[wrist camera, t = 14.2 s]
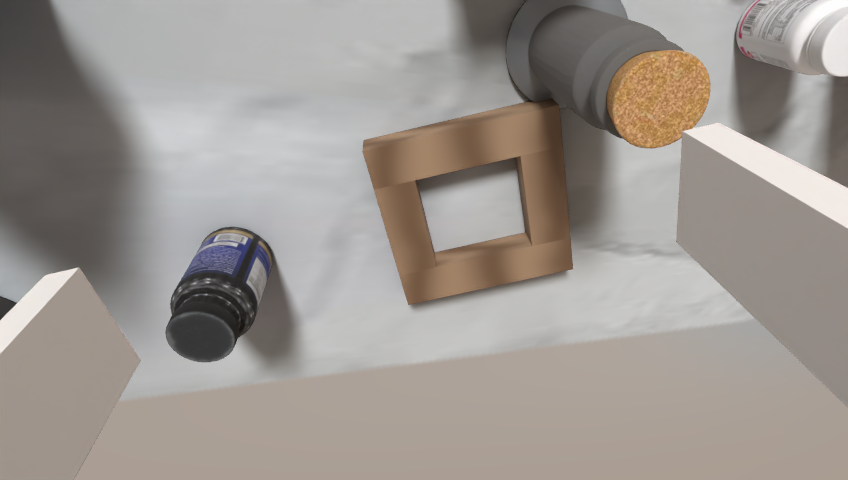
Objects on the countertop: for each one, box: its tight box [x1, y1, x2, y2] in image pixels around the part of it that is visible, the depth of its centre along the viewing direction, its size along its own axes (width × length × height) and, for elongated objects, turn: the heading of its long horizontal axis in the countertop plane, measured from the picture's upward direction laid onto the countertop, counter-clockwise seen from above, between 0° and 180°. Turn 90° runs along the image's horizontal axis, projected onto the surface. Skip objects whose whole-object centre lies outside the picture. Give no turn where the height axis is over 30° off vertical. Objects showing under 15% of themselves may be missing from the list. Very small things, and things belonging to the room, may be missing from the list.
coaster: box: [506, 0, 628, 108], centre depth 38 cm, size 9×9×1 cm
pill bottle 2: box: [736, 0, 848, 77], centre depth 35 cm, size 5×5×8 cm
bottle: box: [528, 5, 710, 148], centre depth 31 cm, size 6×6×15 cm
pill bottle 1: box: [166, 227, 273, 362], centre depth 40 cm, size 6×6×11 cm
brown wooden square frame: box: [363, 99, 573, 305], centre depth 43 cm, size 15×15×2 cm
